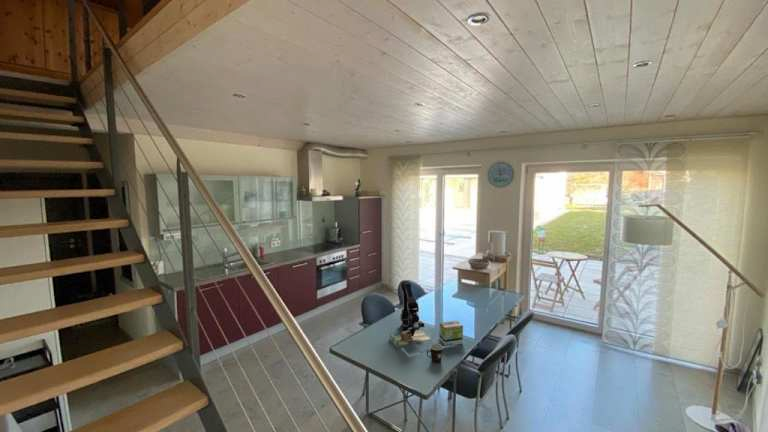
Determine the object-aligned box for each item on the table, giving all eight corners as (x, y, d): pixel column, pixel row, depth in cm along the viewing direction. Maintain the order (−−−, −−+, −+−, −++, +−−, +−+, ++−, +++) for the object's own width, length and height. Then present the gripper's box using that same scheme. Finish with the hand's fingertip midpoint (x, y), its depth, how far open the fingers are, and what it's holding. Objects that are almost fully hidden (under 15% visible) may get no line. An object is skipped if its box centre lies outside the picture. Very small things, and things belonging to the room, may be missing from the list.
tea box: (444, 347, 241) (445, 328, 239) (439, 340, 250) (439, 322, 249) (463, 344, 245) (463, 325, 243) (456, 337, 254) (456, 319, 253)
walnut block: (401, 338, 252) (401, 332, 251) (408, 336, 254) (408, 330, 253) (404, 341, 246) (404, 335, 245) (411, 340, 248) (411, 333, 248)
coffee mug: (441, 357, 227) (441, 343, 226) (443, 364, 218) (444, 349, 217) (424, 357, 226) (424, 343, 225) (426, 364, 218) (426, 350, 217)
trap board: (389, 339, 253) (389, 333, 253) (421, 332, 264) (421, 326, 263) (397, 348, 239) (397, 341, 239) (430, 340, 250) (430, 334, 249)
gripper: (406, 323, 239) (406, 343, 241) (428, 318, 246) (428, 338, 248) (399, 317, 249) (399, 337, 251) (420, 313, 257) (420, 332, 258)
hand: (412, 336), depth 252 cm, fingers closed
